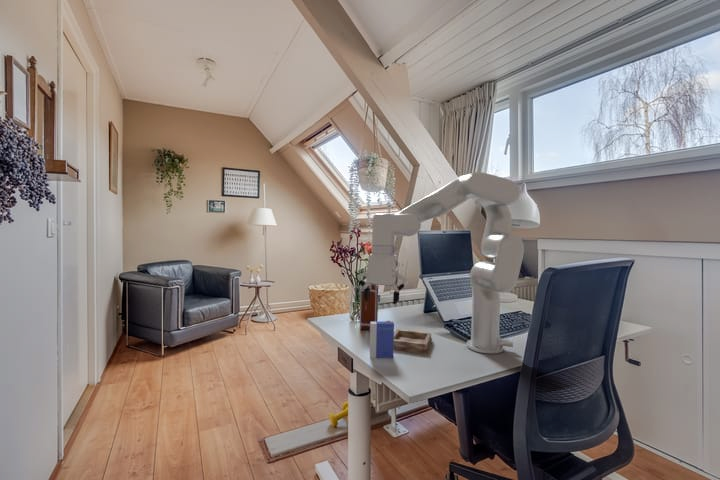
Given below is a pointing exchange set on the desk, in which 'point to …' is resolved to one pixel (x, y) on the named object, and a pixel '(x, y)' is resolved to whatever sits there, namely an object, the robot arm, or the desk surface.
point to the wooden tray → (412, 341)
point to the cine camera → (369, 307)
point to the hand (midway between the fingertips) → (381, 301)
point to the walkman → (381, 339)
